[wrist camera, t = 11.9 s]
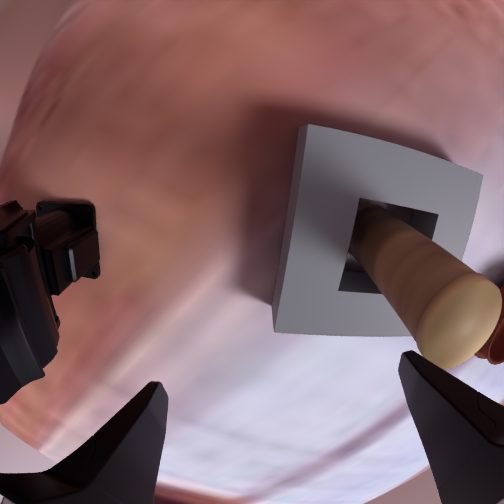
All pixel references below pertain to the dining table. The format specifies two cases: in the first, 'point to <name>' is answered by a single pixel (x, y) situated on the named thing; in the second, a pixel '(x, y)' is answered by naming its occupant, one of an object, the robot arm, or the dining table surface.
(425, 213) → the socket block
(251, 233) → the dining table surface
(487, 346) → the pottery
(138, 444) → the robot arm
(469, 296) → the tan wooden cylinder
